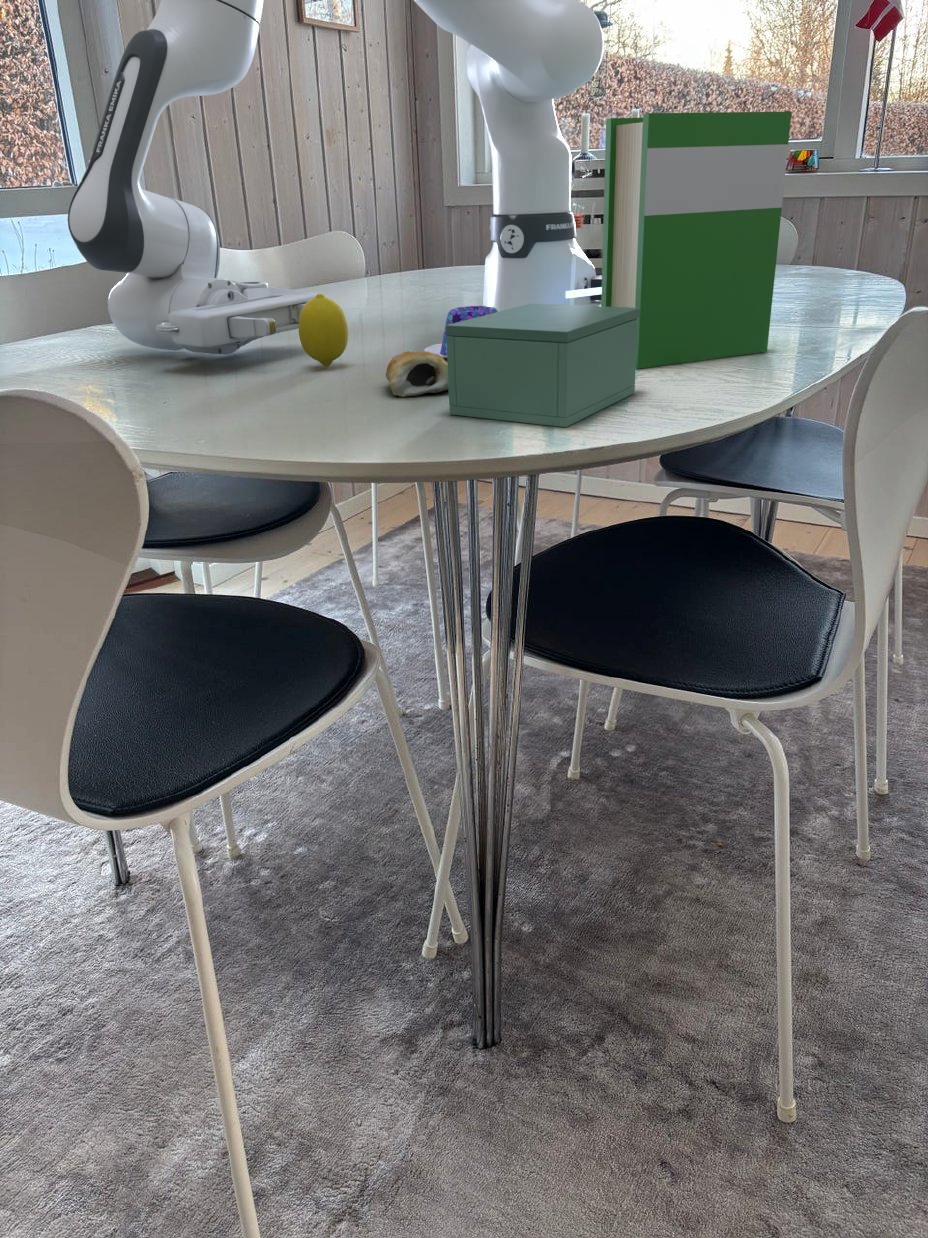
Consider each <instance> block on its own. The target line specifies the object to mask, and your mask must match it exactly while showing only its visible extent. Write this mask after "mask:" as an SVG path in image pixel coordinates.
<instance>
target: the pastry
mask: <svg viewBox="0 0 928 1238" xmlns="http://www.w3.org/2000/svg"><path fill="white" fill-rule="evenodd" d="M384 374H385V378H386V380H387V381H388V382H389V388H390V390H391V393H392V395H393V396H399V397H403V398H405V397H417V396H421V395H424V394H428V393H433V394H437V393H441V392H445V391H449V387H448V363H447V360H445V358H443V357H442V356H440V355H439V354H434V353H431V352H427V351H424V350H423V351H422V350H421V351H404V352H402V353H400V354H397V355H395V356H393V357H392V358H391V360H390V361H389V363H388V364H387V366H386V371H385V373H384Z"/></svg>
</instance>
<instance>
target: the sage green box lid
mask: <svg viewBox="0 0 928 1238" xmlns="http://www.w3.org/2000/svg"><path fill="white" fill-rule="evenodd" d="M640 311H641V308H630V307H604V306H577V305H551V304H527V305H523V306H519V307H515V308H512V309H508V310H504V311H500V312H496V313H492V314H488V315H484V316H480V317H476V318H473V319H469V320H465V321H461V322H457V323H453V324H449V325H446V324H445V325H446V335H449V336H465V337H482V338H499V339H515V340H532V341H548V342H565V343H567V342H570V341H573V340H576V339H579V338H582V337H584V336H587V335H590V334H593V333H596V332H599V331H602V330H605V329H608V328H611V327H613V326H616V325H619V324H622V323H625V322H628V321H631V320H634V319H637V318H640Z"/></svg>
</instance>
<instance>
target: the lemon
mask: <svg viewBox="0 0 928 1238" xmlns="http://www.w3.org/2000/svg"><path fill="white" fill-rule="evenodd" d="M316 294H317V295H316V297H315V298H313V299H311V300H310V301H308V302H307V303H306V304H305V305H304V307H303V308H302V311H301V313H300V317H299V328H298V335H299V336H298V338H299V341H300V344H301V347H302V349H303V351H304V352H305V353H306V355H307V356H309V358H311V359H313V360H314V361H317V362H319V363H320V364H321V365H322V366H323V367H325V368H328V367H330V366H331V365H332V363H334V361H335V360H337V359H339V358H340V357H341V356H342V355H343V354H344V352H345V350H346V348H347V346H348V342H349V341H348V340H349V328H348V323H347V318H346V316H345V313H344V311H343V309H342V308H341V306H340V305H339V304H338V303H337V302H336V301H335V300H333V299H331V298H329V297H326V296H325V295H324V294H323V293H316Z"/></svg>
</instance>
